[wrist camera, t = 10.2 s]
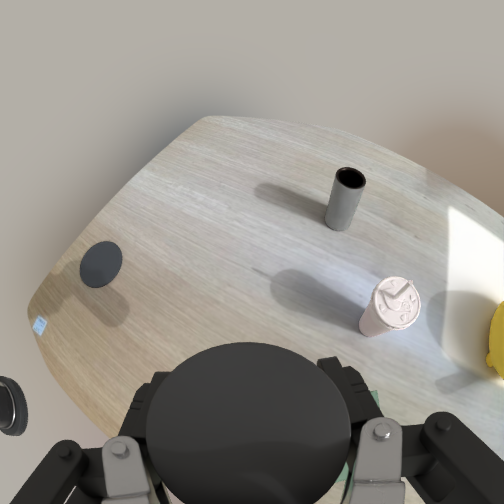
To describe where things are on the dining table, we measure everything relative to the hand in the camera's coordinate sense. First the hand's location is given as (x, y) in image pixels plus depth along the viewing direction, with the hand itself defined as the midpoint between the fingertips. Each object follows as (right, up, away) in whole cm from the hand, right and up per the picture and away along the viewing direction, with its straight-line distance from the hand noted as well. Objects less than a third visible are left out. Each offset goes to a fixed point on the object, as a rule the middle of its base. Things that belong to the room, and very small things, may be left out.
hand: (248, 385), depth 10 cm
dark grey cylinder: (0, -5, +4) cm, 7 cm away
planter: (+15, +10, +35) cm, 40 cm away
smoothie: (+17, -5, +26) cm, 32 cm away
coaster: (-26, +3, +33) cm, 42 cm away
